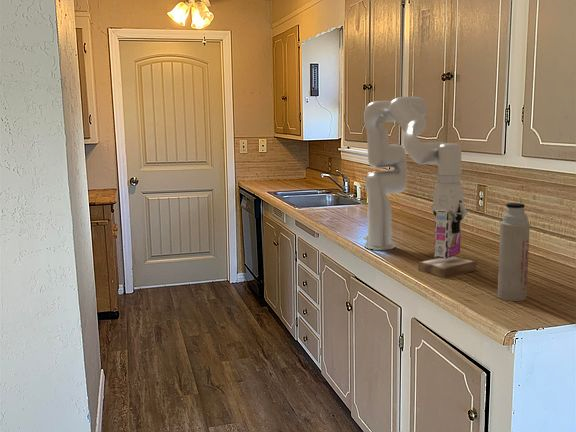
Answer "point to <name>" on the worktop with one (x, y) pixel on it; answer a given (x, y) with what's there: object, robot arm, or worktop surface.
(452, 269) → the base
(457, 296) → the worktop surface
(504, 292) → the thermos bottle
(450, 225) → the candy bar box
